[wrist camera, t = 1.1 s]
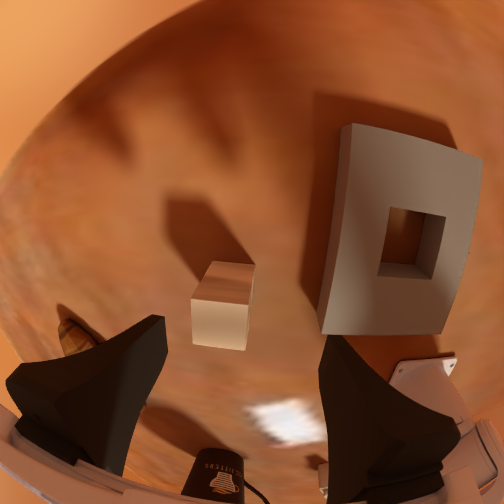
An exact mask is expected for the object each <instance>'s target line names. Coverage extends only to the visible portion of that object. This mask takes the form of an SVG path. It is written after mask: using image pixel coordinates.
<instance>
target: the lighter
mask: <svg viewBox="0 0 504 504" xmlns="http://www.w3.org/2000/svg"><path fill="white" fill-rule="evenodd" d="M328 471H329V463H324V464H320V465H318V478H319V490H320V491H321V492H322V493H323V494H324V497H325V498H326V502H327V493H328Z"/></svg>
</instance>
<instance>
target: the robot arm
mask: <svg viewBox="0 0 504 504" xmlns="http://www.w3.org/2000/svg"><path fill="white" fill-rule="evenodd" d="M167 354H168V346H167V337H166V327H165V317H164V316H159V315H153V314H152V315H150V316H148V317H147V318H145V319H143V320H142V321H140V322H138V323H137V324H135V325H133V326H132V327H130V328H129V329H127V330H125V331H124V332H122V333H120V334H118V335H116V336H115V337H113V338H111V339H109V340H107V341H105V342H103V343H101V344H99V345H97V346H95V347H92V348H90V349H87V350H85V351H82V352H79V353H76V354H73V355H69V356H66V357H62V358H58V359H53V360H48V361H41V362H31V363H21V364H20V365H19V366H18V368H16V369H15V370H14V372H13V373H12V374H11V375H10V376H9V377H8V378H7V379H6V387H7V390H8V392H9V394H10V396H11V398H12V399H13V401H14V402H15V404H16V406H17V407H18V409H19V410H20V411H21V413H22V416H21V418H20V419H19V418H18V417H17V416H16V415H14V414H13V413H12V412H11V411H9V410H8V409H7V408H5V407H4V406H3V405H1V404H0V467H1V468H2V469H3V470H4V471H6V472H7V473H8V474H9V475H11V476H12V477H13V478H14V479H15V480H17V481H18V482H19V483H21V484H22V485H23V486H25V487H26V488H27V489H29V490H30V491H31V492H33V493H34V494H36V495H37V496H38V497H40V498H41V499H43V500H44V501H46V502H48V503H49V504H230V503H223V502H216V501H210V500H204V499H198V498H193V497H189V496H184V495H180V494H175V493H171V492H167V491H164V490H160V489H156V488H153V487H149V486H146V485H143V484H140V483H137V482H134V481H131V480H128V479H125V478H122V475H123V470H124V466H125V461H126V457H127V453H128V449H129V445H130V442H131V439H132V435H133V432H134V429H135V426H136V423H137V420H138V417H139V415H140V412H141V410H142V407H143V405H144V403H145V401H146V399H147V397H148V395H149V394H150V392H151V390H152V388H153V386H154V384H155V382H156V380H157V378H158V376H159V374H160V372H161V370H162V368H163V365H164V362H165V360H166V357H167ZM456 362H457V358H456V356H453V357H445V358H435V359H424V360H411V361H401V362H399V363H398V365H397V367H396V369H395V371H394V373H393V375H392V377H391V380H390V382H389V383H388V382H386V381H385V380H384V379H383V378H382V377H380V376H379V375H378V374H377V373H376V372H375V371H374V370H373V369H372V368H371V367H370V366H369V365H368V364H367V363H366V362H365V361H364V360H363V359H362V358H361V357H360V356H359V355H358V353H357V352H356V351H355V350H354V349H353V348H352V347H351V345H350V344H349V343H348V342H347V341H346V340H345V339H344V338H343V336H342V335H329V334H328V336H327V340H326V343H325V347H324V351H323V354H322V358H321V361H320V365H319V368H318V373H319V389H320V394H321V400H322V405H323V410H324V415H325V421H326V426H327V434H328V460H329V471H328V493H327V504H502V502H503V501H504V441H503V440H502V438H501V436H500V435H499V433H498V431H497V430H496V428H495V426H494V425H493V424H492V423H491V421H490V420H489V419H480V420H479V421H478V422H475V421H474V419H473V417H472V416H471V414H470V412H469V410H468V408H467V407H466V405H465V403H464V401H463V400H462V398H461V396H460V394H459V393H458V391H457V389H456V388H455V386H454V384H453V383H452V381H451V380H450V378H449V375H450V373H451V371H452V369H453V368H454V366H455V364H456ZM400 369H401V370H400ZM496 477H497V478H496ZM494 478H496V480H495V481H493V482H492V483H491V484H490V485H489V486H487V487H486V488H484V489H483V490H481V491H480V492H479V489H480V488H481V487H483V486H484V485H486V484H487V483H489V482H490V481H491V480H493V479H494Z"/></svg>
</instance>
